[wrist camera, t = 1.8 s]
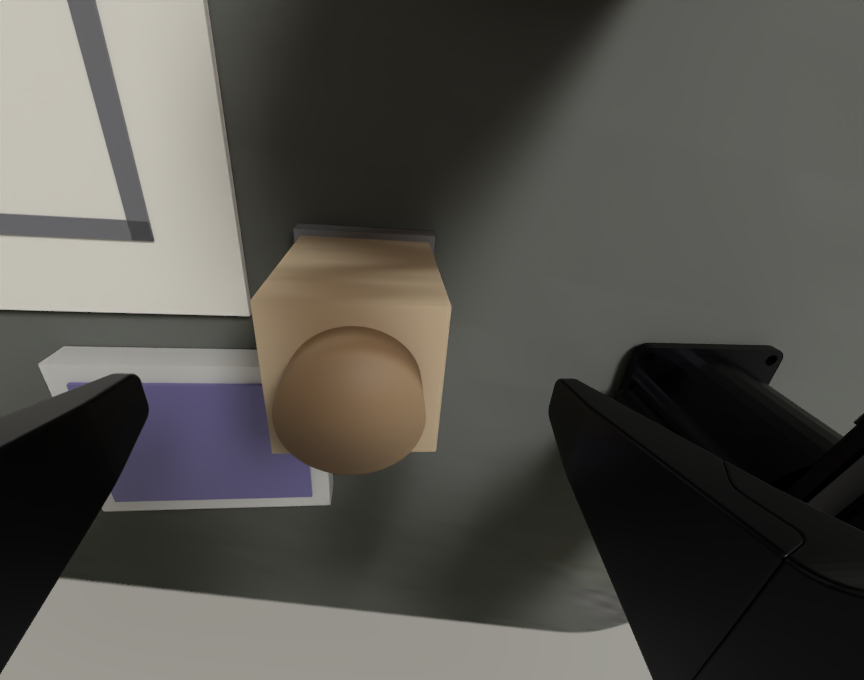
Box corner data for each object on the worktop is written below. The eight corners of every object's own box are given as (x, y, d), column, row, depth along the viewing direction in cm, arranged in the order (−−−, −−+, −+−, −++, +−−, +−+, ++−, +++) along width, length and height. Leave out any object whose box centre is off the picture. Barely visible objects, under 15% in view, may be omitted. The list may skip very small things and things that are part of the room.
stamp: (433, 230, 14) (473, 323, 7) (424, 344, 16) (449, 494, 9) (298, 222, 13) (214, 316, 7) (307, 342, 15) (250, 500, 9)
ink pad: (326, 350, 15) (321, 370, 14) (333, 483, 18) (329, 507, 17) (63, 346, 14) (34, 366, 13) (120, 488, 17) (100, 514, 16)
